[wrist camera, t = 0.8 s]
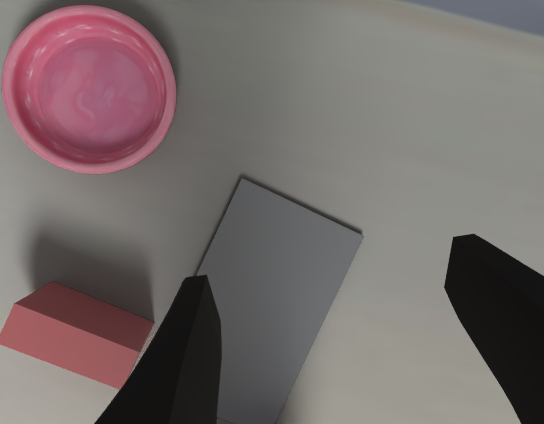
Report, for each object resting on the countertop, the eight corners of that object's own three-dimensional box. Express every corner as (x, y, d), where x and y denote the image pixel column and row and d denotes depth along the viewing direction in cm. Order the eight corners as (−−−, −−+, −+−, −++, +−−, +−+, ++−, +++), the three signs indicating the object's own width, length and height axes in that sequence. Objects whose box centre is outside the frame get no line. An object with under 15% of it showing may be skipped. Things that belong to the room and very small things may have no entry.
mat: (267, 433, 35) (268, 436, 35) (144, 386, 34) (142, 389, 33) (362, 235, 35) (364, 236, 35) (241, 178, 33) (241, 178, 33)
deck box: (140, 353, 34) (121, 390, 28) (38, 313, 32) (-4, 342, 26) (154, 322, 34) (139, 352, 28) (53, 281, 32) (14, 303, 26)
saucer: (0, 39, 31) (-26, 23, 27) (155, 5, 32) (148, -15, 29) (50, 191, 32) (31, 192, 29) (198, 153, 33) (195, 150, 30)
